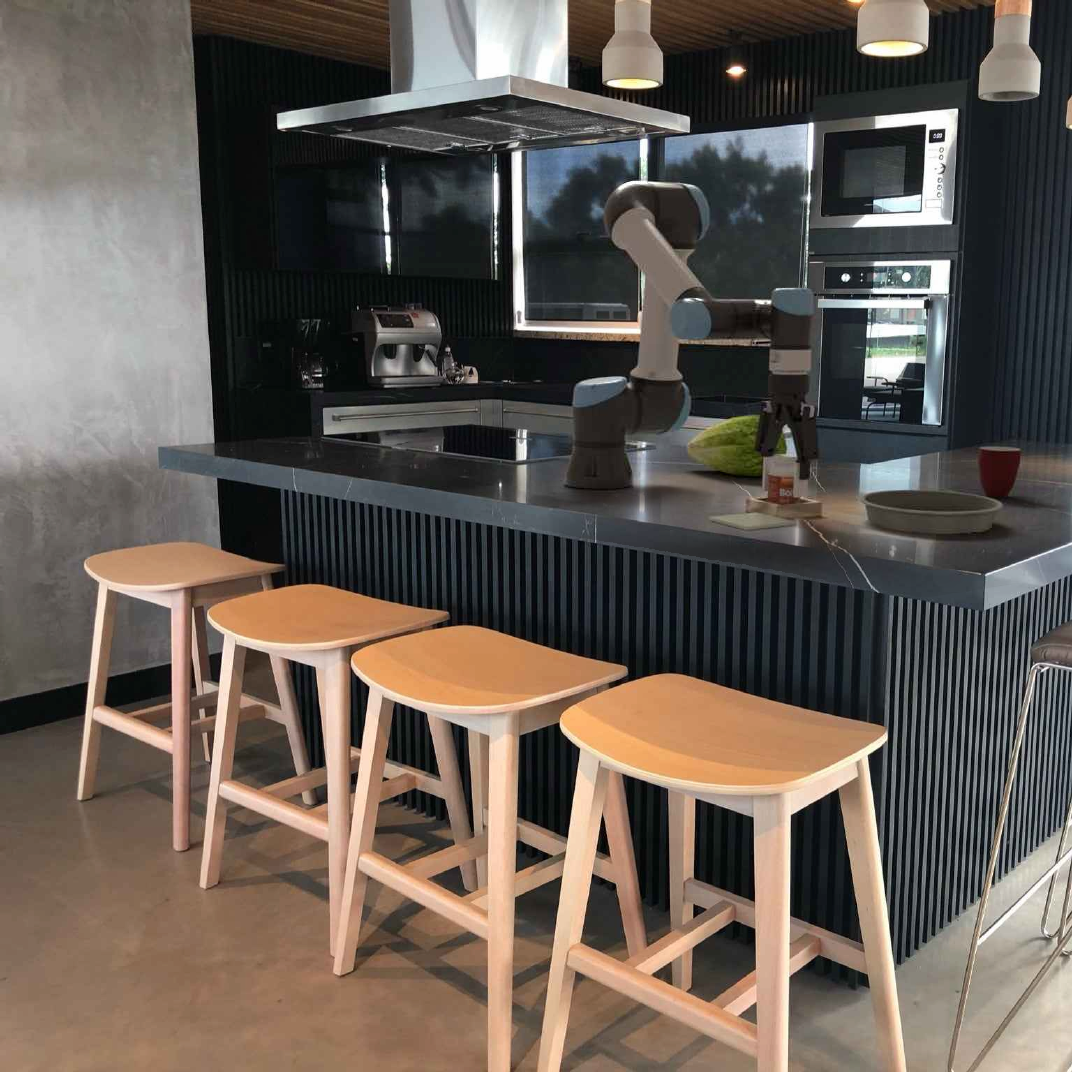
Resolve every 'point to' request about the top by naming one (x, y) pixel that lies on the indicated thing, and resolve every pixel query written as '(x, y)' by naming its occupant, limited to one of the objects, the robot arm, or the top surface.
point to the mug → (998, 470)
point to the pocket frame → (784, 508)
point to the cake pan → (930, 511)
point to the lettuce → (732, 446)
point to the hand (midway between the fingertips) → (784, 493)
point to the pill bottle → (782, 480)
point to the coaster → (752, 521)
